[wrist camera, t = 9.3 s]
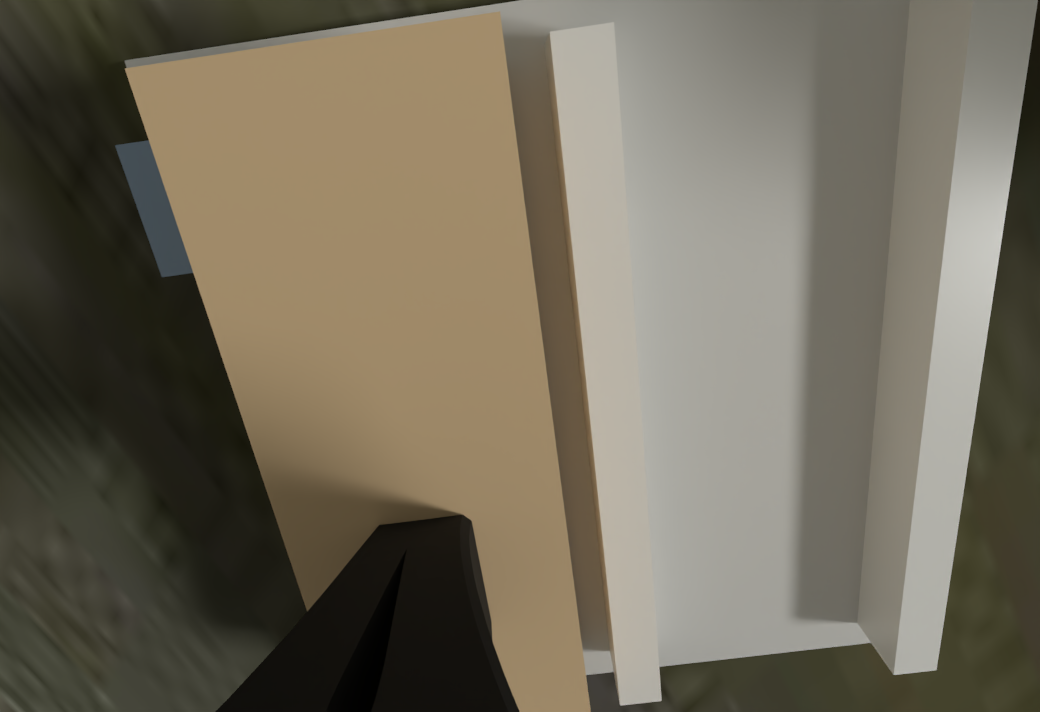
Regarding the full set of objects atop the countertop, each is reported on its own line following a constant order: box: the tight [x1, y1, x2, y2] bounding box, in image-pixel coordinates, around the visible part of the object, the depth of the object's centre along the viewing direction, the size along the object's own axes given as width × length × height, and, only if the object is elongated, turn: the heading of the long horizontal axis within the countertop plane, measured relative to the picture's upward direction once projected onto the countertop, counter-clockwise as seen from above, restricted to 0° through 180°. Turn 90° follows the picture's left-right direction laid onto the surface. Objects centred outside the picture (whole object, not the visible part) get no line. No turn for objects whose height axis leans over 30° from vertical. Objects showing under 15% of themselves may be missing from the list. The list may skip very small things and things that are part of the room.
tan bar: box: [125, 11, 591, 712], centre depth 11 cm, size 14×4×5 cm, turn 8°
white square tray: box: [115, 0, 1038, 705], centre depth 12 cm, size 16×16×3 cm
